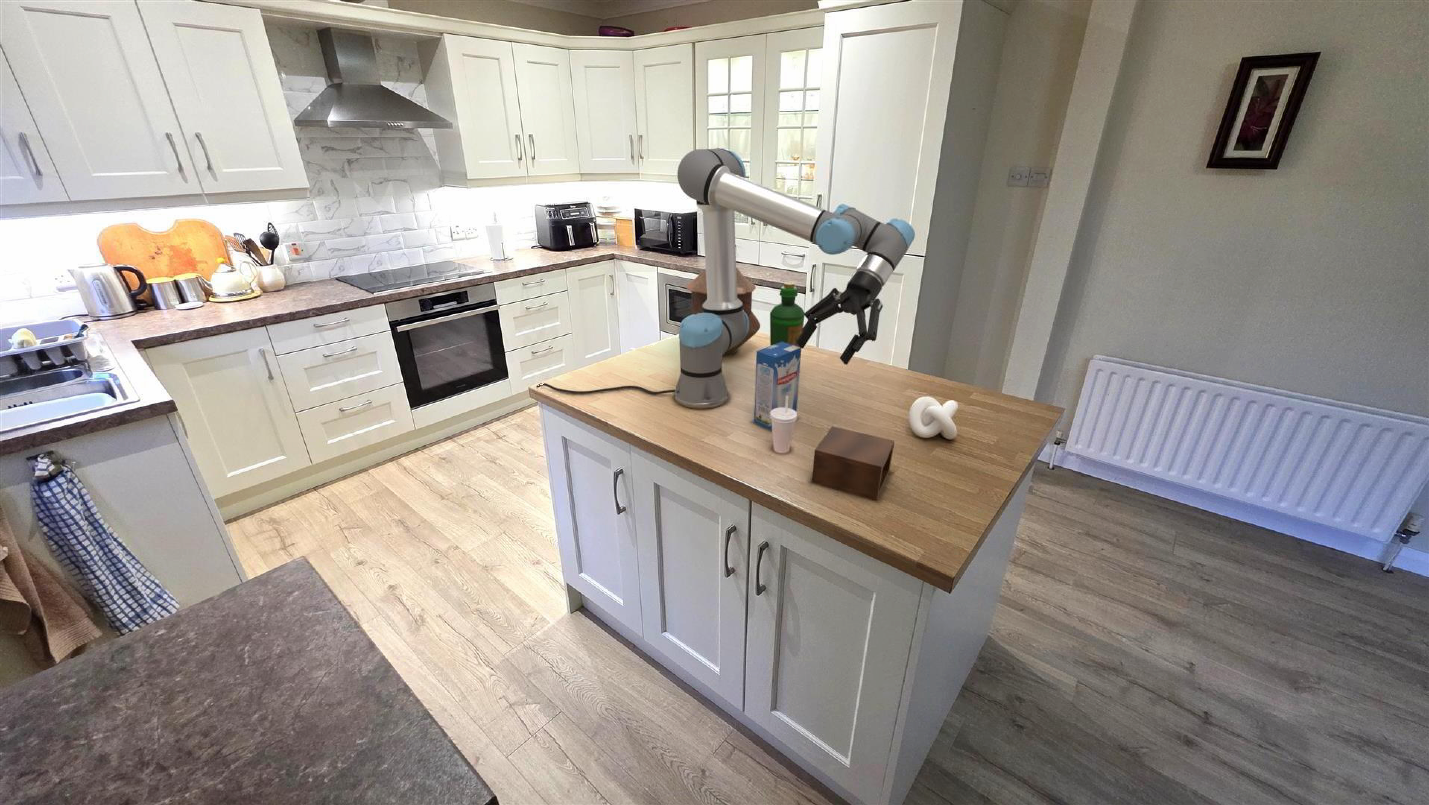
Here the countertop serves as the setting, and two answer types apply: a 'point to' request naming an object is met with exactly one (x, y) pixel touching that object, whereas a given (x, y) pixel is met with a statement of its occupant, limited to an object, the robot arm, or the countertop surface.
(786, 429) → the smoothie
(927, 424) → the white knot sculpture
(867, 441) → the open-ended wooden box
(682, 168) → the robot arm
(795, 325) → the bottle
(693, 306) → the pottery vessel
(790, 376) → the milk carton
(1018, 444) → the countertop surface
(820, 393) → the countertop surface
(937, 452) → the countertop surface
